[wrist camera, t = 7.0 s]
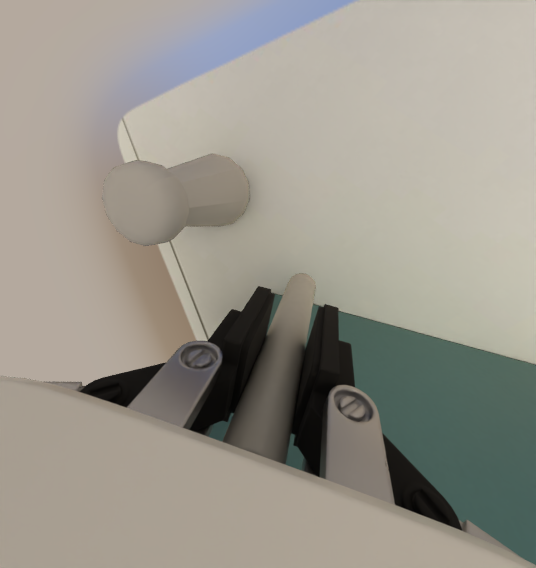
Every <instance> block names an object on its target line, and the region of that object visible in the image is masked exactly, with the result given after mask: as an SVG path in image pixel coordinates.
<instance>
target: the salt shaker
mask: <svg viewBox="0 0 536 568" xmlns="http://www.w3.org/2000/svg"><path fill="white" fill-rule="evenodd" d="M249 199H250V198H249V183H248V181H247V179H246V176H245V174H244V172H243V170H242V168H241V167H239V166H238V165H237V164H236V163H235V162H233V161H232V160H231V159H230V158H228V157H225V156H221V155H217V154H209V155H206V156H203V157H200V158H197V159H195V160H192V161H189V162H186V163H183V164H180V165H177V166H174V167H171V168H168V169H166V168H165V167H163V166H162V165H158V164H154V163H150V162H146V161H139V160H135V161H132V162H128V163H125V164H122V165H120V166H117V167H114V168H113V169H112V171H111V172H110V173H109V175H108V176H107V177H106V179H105V180H104V186H103V195H102V200H103V204H104V207H105V212H106V215H107V217H108V218H109V220H110V221H111V223H112V224H113V226H114V227H115V229H116V230H117V231H118V232H119V233H120V234H121V235H123V236H124V237H125V238H126V239H128V240H129V241H130V242H133V243H137V244H140V245H144V246H149V245H155V244H160V243H165V242H168V241H170V240H172V239H173V238H175V237H176V235H177V234H178V233H179V232H180V231H181V230H182V229H183V228H184V227H185V226H224V225H229V224H233V223H234V222H235V221H236V220H237V219H238V218H239V217H240V216H241V215H243V213H244V211H245V209H246V207H247V204H248V202H249Z"/></svg>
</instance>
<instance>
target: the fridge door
mask: <svg viewBox="0 0 536 568" xmlns="http://www.w3.org/2000/svg"><path fill="white" fill-rule="evenodd" d="M315 289H316V285H315V282H314V280H313V279H312V277H310V276H309V275H307V274H303V273H299V274H296V275H294V276H292V277H291V278H290V280H289V282H288V284H287V287H286V289H285V292H284V294H283V296H281V295H277V294H275V297H274V302H273V306H272V311H271V315H270V320H269V324H268V329H267V333H266V337H265V340H264V342H263V345H262V347H261V350H260V352H259V354H258V357H257V359H256V362H255V364H254V366H253V369H252V371H251V374H250V376H249V378H248V381H247V383H246V386H245V388H244V391H243V393H242V395H241V398H240V400H239V403H238V405H237V407H236V410H235V412H234V414H233V413H231V415H230V417H229V420H228V422H225V421H220V422H218V423H215V424H213V428H212V431H211V433H210V435H209V437H210V438H213V439H216V440H218V441H221V442H224V443H227V444H229V445H232V446H235V447H238V448H241V449H243V450H246V451H249V452H252V453H254V454H257V455H260V456H263V457H265V458H268V459H271V460H274V461H276V462H279V463H282V464H285V465H288V466H290V467H293V468H296V469H299V470H301V469H302V462H303V458H304V456H303V455H302V453H301V451H300V450H299V448H298V447H296V446H294V445H293V443H294V437H295V435H294V434H291V431H292V425H293V419H294V413H295V407H296V401H297V395H298V389H299V383H300V377H301V372H302V366H303V360H304V354H305V349H306V346H307V343H308V340H309V336H310V333H311V330H312V327H313V323H314V320H315V317H316V314H317V311H318V308H319V306H318V305H314V304H313V300H314V295H315ZM273 294H274V293H273ZM320 307H321V306H320ZM338 318H339V340H340V341H344V342H347V343H350V344H351V347H352V358H353V369H354V380H355V388H357V389H359V390H361V391H362V392H364V393H365V394H367V395H368V396H369V397H370V398H371V399H372V401H373V402H374V404H375V405H376V407H377V410H378V413H379V418H380V424H381V429H382V433H383V434H384V435H385V436H386V437H387V438H388V439H389V440H390V441H391V442H392V443H393V444H394V445H395V447H396V448H397V449H398V450H399V451H400V452H401V453H402V454H403V455H404V456H405V457H406V458H407V459H408V460H409V461H410V462H411V463H412V464H413V465H414V466H415V467H416V468H417V469H418V471H419V472H420V473H421V474H422V475H423V476H424V477H425V478H426V479H427V480H428V481H429V482H430V483H431V484H432V485H433V486H434V487H435V488H436V489H437V490H438V491H439V492H440V493H441V495H442V496H443V497H444V498H445V499H446V500H447V502H448V503H449V504H450V505H451V507H452V508H453V510H454V512H455V514H456V515H457V517H458V519H459V520H460V521H461V522H463V523H464V522H465V521H466V520H468V521H470V522H471V523H473V524H474V525H476V526H477V527H478V528H480V529H481V530H483V531H484V532H486V533H487V534H489V535H490V536H491V537H493V538H494V539H496V540H497V541H499V542H500V543H501V544H503V545H504V546H506V547H507V548H509V549H510V550H511V551H513V552H514V553H516V554H517V555H519V556H520V557H521V558H523V559H525V560H527V561H529V562H531V563H533V564H534V565H536V365H534V364H530V363H527V362H523V361H519V360H516V359H512V358H508V357H505V356H501V355H497V354H494V353H490V352H486V351H483V350H479V349H475V348H472V347H468V346H464V345H461V344H457V343H453V342H450V341H446V340H442V339H439V338H435V337H431V336H428V335H424V334H420V333H417V332H413V331H409V330H406V329H402V328H398V327H395V326H391V325H387V324H384V323H380V322H376V321H373V320H369V319H365V318H362V317H358V316H354V315H351V314H347V313H343V312H340V311H338Z"/></svg>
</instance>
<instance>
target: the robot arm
mask: <svg viewBox="0 0 536 568" xmlns="http://www.w3.org/2000/svg"><path fill="white" fill-rule="evenodd" d="M274 297H275V294H273V293H271V289H268V288H264V287H260V286H258V288H257V289H256V291H255V292H254V294H253V295H252V297H251V298H250V300H249V301H248V303H247V304H246V306H245V307H244V309H243V310H242V312H240V311H237V310H233V309H232V310H231V311H230V312H229V313H228V314H227V316H226V317H225V319H224V320H223V321H222V323H221V324H220V325H219V327H218V328H217V329H216V331H215V332H214V333H213V335H212V336H211V337H210V339H209V340H208V341H192V342H188V343H186V344H184V345H182V346H181V347H180V348H179V349H178V350H177V351H176V352H175V354H173V356H172V357H171V358H170V359H169V360H168V361H167V362H166V363H162V364H158V365H154V366H150V367H146V368H142V369H137V370H133V371H129V372H125V373H120V374H116V375H112V376H108V377H104V378H101V379H98V380H95V381H93V382H91V383H89V384H88V385H86V386H82V382H41V381H36V380H31V379H26V378H16V377H6V376H0V568H536V565H534V564H533V563H531V562H529V561H527V560H525V559H523V558H521V557H520V556H519V555H517V554H516V553H514V552H513V551H511V550H510V549H509V548H507V547H506V546H504V545H503V544H501V543H500V542H499V541H497V540H496V539H494V538H493V537H491V536H490V535H489V534H487V533H486V532H484V531H483V530H481V529H480V528H478V527H477V526H476V525H474V524H473V523H471V522H470V521H468V520H466V521H465V522H464V523H463V522H461V521H460V520H459V519H458V517H457V515H456V514H455V512H454V510H453V508H452V507H451V505H450V504H449V503H448V502H447V500H446V499H445V498H444V497H443V496H442V495H441V493H440V492H439V491H438V490H437V489H436V488H435V487H434V486H433V485H432V484H431V483H430V482H429V481H428V480H427V479H426V478H425V477H424V476H423V475H422V474H421V473H420V472H419V471H418V469H417V468H416V467H415V466H414V465H413V464H412V463H411V462H410V461H409V460H408V459H407V458H406V457H405V456H404V455H403V454H402V453H401V452H400V451H399V450H398V449H397V448H396V447H395V445H394V444H393V443H392V442H391V441H390V440H389V439H388V438H387V437H386V436H385V435H384V434H383V433H382V429H381V424H380V418H379V413H378V410H377V407H376V405H375V404H374V402H373V401H372V399H371V398H370V397H369V396H368V395H367V394H365V393H364V392H362V391H361V390H359V389H357V388H355V380H354V369H353V358H352V347H351V344H350V343H347V342H344V341H340V340H339V318H338V308H337V307H333V306H330V305H326V304H325V305H324V307H320V306H319V308H318V311H317V314H316V317H315V320H314V323H313V327H312V330H311V333H310V336H309V340H308V343H307V346H306V349H305V354H304V360H303V366H302V372H301V377H300V383H299V389H298V395H297V401H296V407H295V413H294V419H293V425H292V431H291V434H294V435H295V437H294V443H293V445H294V446H296V447H298V448H299V450H300V451H301V453H302V455H303V456H304V458H303V462H302V469H301V470H299V469H296V468H293V467H290V466H288V465H285V464H282V463H279V462H276V461H274V460H271V459H268V458H265V457H263V456H260V455H257V454H254V453H252V452H249V451H246V450H243V449H241V448H238V447H235V446H232V445H229V444H227V443H224V442H221V441H218V440H216V439H213V438H210V437H209V435H210V433H211V431H212V428H213V424H215V423H218V422H220V421H225V422H228V420H229V417H230V415H231V413H233V414H234V412H235V410H236V407H237V405H238V403H239V400H240V398H241V395H242V393H243V391H244V388H245V386H246V383H247V381H248V378H249V376H250V374H251V371H252V369H253V366H254V364H255V362H256V359H257V357H258V354H259V352H260V350H261V347H262V345H263V342H264V340H265V337H266V333H267V329H268V324H269V320H270V315H271V311H272V306H273V302H274Z"/></svg>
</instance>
